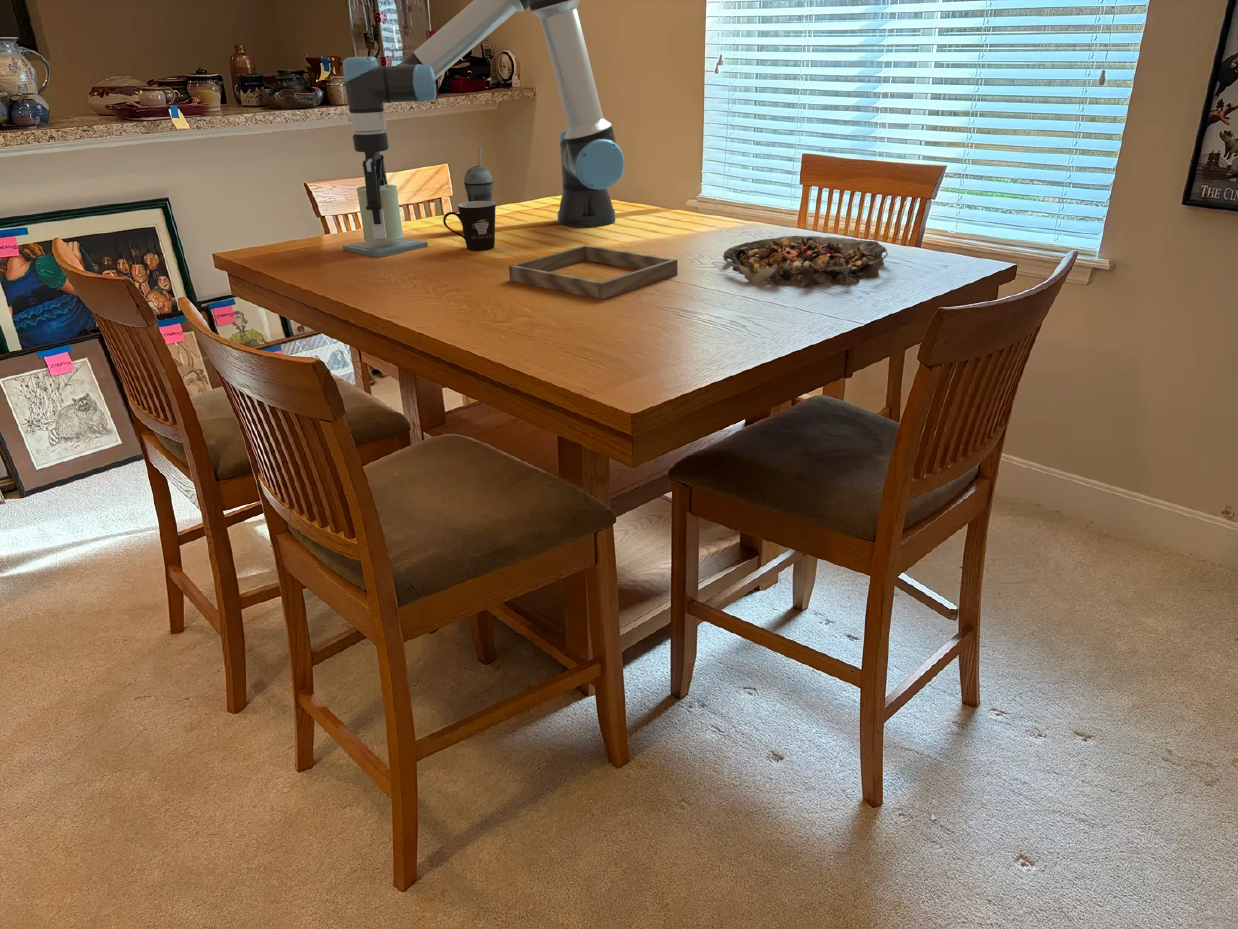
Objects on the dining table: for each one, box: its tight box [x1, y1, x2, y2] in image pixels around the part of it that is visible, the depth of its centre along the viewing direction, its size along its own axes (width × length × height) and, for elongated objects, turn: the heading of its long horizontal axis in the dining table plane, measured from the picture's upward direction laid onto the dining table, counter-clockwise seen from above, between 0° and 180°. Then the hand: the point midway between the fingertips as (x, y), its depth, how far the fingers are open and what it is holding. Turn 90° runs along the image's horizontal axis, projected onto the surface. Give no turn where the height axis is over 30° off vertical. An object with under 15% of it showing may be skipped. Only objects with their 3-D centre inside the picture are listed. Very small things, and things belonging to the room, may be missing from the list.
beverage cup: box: [463, 146, 494, 202], centre depth 226 cm, size 7×7×20 cm
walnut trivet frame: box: [508, 244, 678, 300], centre depth 182 cm, size 25×23×3 cm
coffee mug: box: [442, 201, 496, 252], centre depth 208 cm, size 12×9×10 cm
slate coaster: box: [342, 237, 428, 259], centre depth 213 cm, size 14×14×1 cm
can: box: [356, 183, 405, 242], centre depth 209 cm, size 9×9×12 cm
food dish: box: [722, 235, 889, 289], centre depth 184 cm, size 35×33×8 cm
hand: (383, 233), depth 211 cm, fingers closed on can, 9 cm apart
